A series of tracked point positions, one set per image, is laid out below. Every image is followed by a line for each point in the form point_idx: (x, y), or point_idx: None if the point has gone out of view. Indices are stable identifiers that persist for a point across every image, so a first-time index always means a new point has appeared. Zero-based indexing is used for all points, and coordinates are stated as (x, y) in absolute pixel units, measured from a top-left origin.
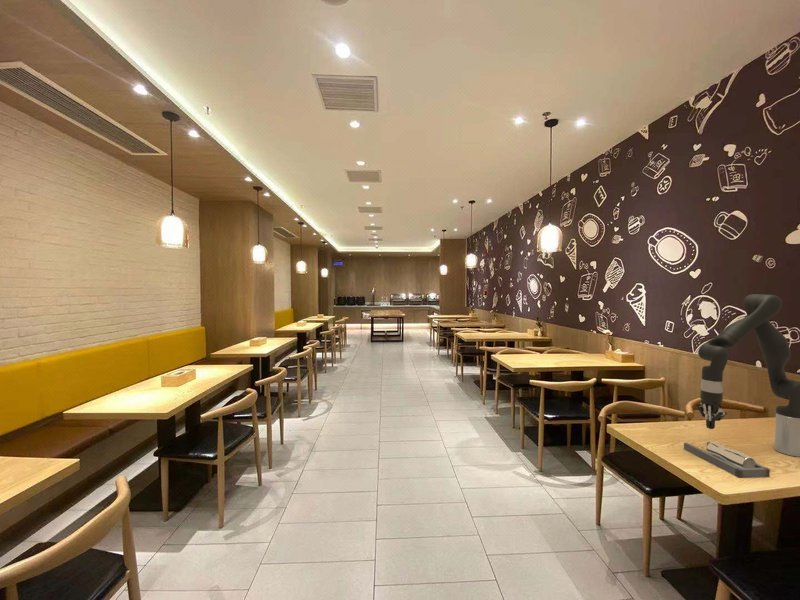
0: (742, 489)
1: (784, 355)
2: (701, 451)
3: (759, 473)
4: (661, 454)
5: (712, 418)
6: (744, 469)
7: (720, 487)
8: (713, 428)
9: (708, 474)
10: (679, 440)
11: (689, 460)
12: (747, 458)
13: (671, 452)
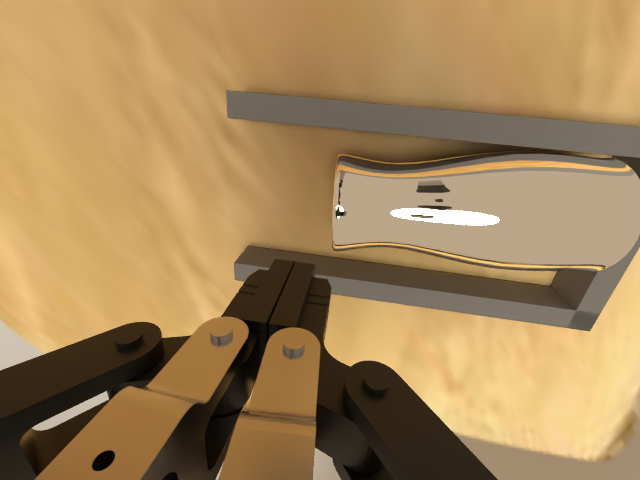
0: (623, 384)
1: None
2: (352, 296)
3: None
4: None
5: (336, 466)
6: (601, 297)
7: (567, 432)
8: (314, 269)
9: (482, 385)
10: (136, 179)
11: (361, 343)
12: (621, 250)
13: None
